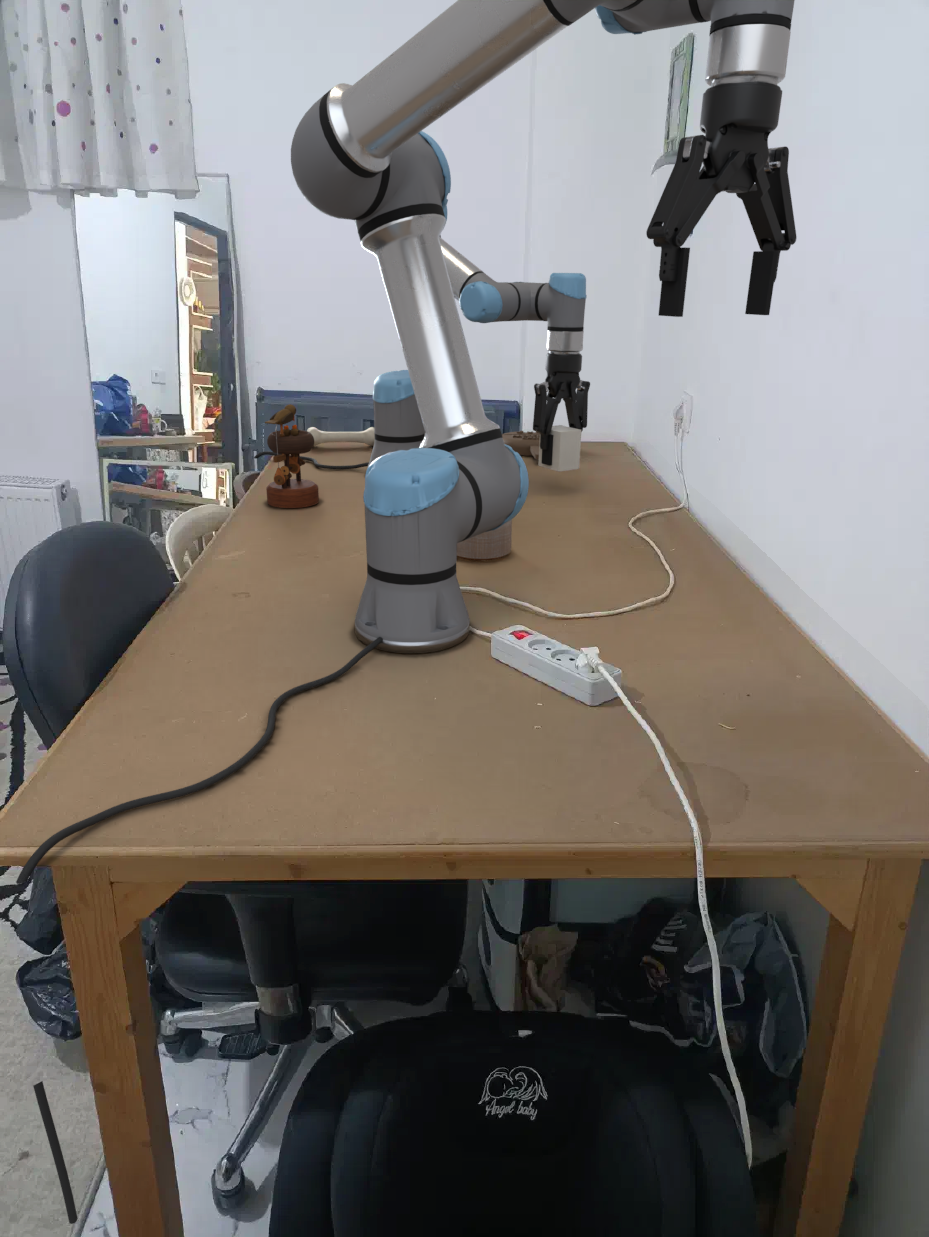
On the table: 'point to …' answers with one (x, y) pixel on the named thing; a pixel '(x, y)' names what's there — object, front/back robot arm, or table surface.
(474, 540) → the planter
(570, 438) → the brick
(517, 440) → the ice cream bar
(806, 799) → the table surface
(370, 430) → the dog toy
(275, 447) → the music box
